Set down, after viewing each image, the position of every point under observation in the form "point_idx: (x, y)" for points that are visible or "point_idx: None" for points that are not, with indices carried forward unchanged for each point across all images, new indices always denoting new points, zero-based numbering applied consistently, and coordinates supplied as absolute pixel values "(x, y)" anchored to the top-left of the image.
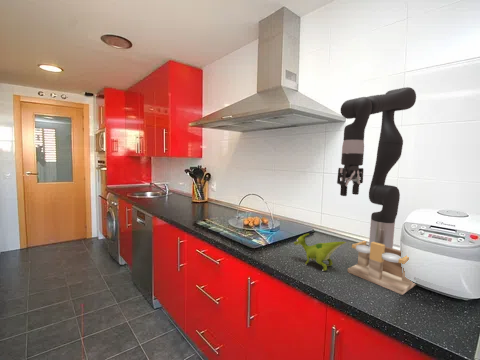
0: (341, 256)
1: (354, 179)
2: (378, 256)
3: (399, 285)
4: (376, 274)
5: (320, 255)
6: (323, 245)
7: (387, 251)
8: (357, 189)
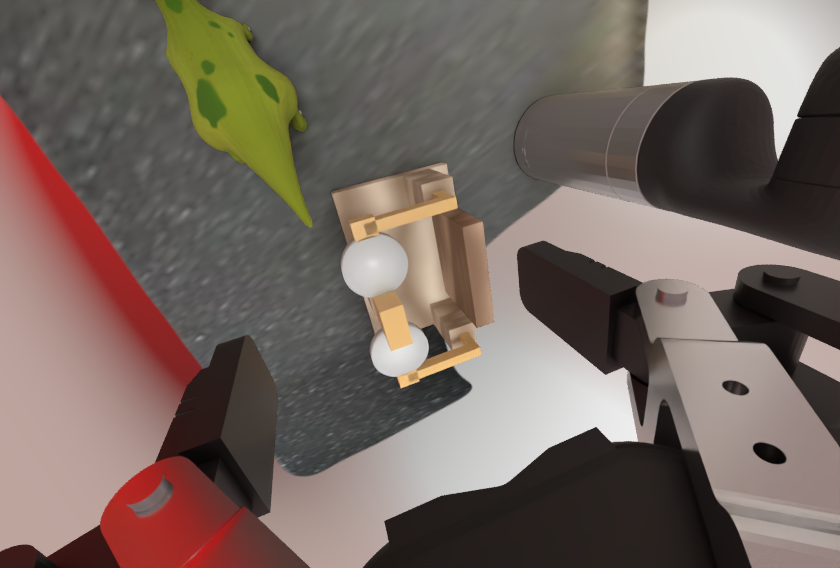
0: (426, 56)
1: (650, 436)
2: (378, 317)
3: None
4: None
5: (206, 141)
6: (226, 129)
7: (465, 279)
8: (562, 331)
